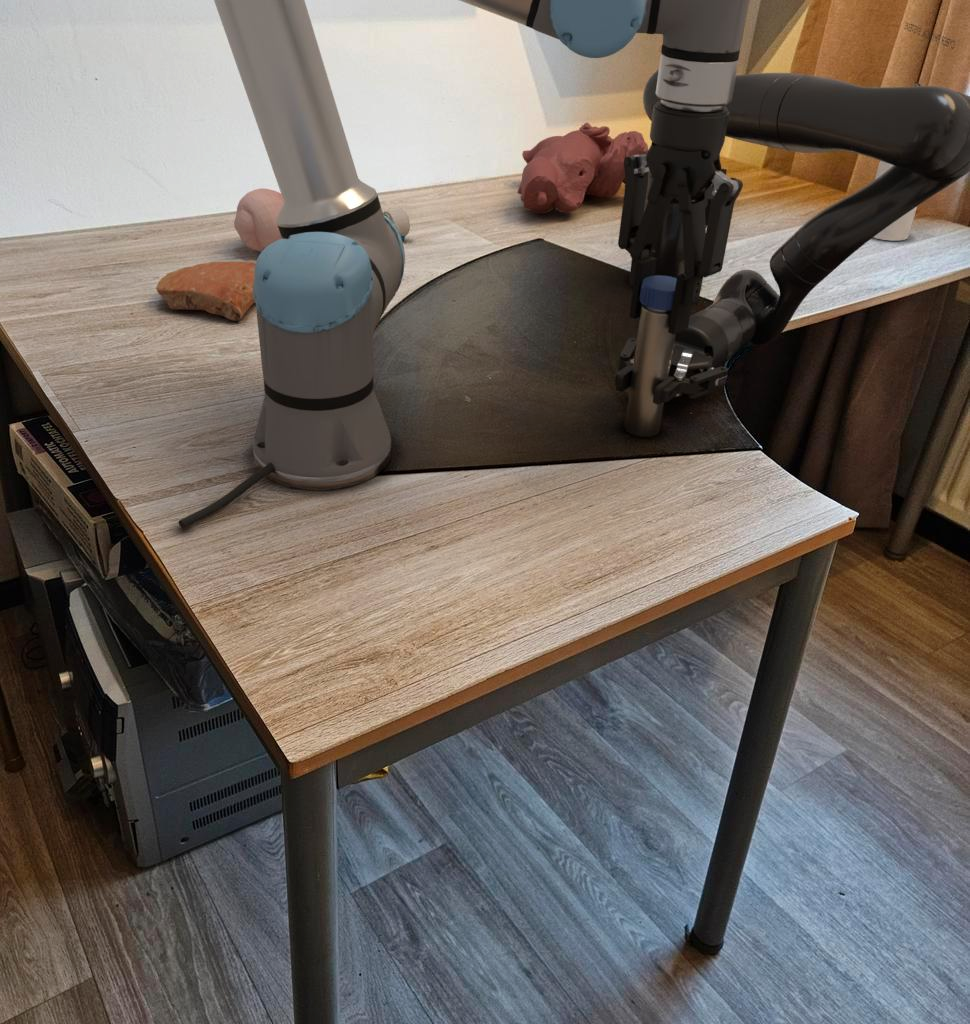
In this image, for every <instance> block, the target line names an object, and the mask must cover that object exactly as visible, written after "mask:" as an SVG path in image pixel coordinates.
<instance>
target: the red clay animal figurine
mask: <svg viewBox="0 0 970 1024" xmlns="http://www.w3.org/2000/svg"><path fill="white" fill-rule="evenodd" d="M610 130H611V129H610V127H608V126H607V125H605V126H604V125H602V126H600V127H598V126H592V125H591V124H590V123H589V122H585V123H584V124H581V126H580V127H579V129H576V130H573V131H570V132H568V133H566V134H565V135H554V136H549V137H546V138H544V139H542V140H540V141H539V142H538V143H536V145H535V146H534V147H532V148H531V149H529V150H523V151H522V153H521V156H522V158H523V160H524V162H525V163H526V164H525V166H524V168H523V170H522V172H521V173H522V174H521V180H520V181H521V182H520V185H519V186H518V189H517V194H518V195H520V200H521V202H522V203H523V207H524V209H525V210H529V211H530V212H532V213H535V214H546V213H549V212H551V211H552V210H553V209H554V208H555V209H556V210H557V211H559V212H560V213H564V214H569V213H573V212H575V211H578V209H579V208H581V206H582V203H584V199H585V195H591V196H593V197H596V198H599V197H604V198H606V197H608V198H610V197H613V196H614V195H617V194H618V192H619V191H620V189H621V186H622V184H624V185H625V184H626V176H625V169H624V159H625V158H626V157H629V156H633V155H637V154H644V155H645V154H647V151H648V150H649V146H648V143H647V142H646V141H645V139H644V135H643V134H642V132H638V131H636V130H631V131H628V132H627V131H624V132H621V133H618V135H617V136H615V137H614V138H612V137H611V136H610V135H609V134H610Z"/></svg>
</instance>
